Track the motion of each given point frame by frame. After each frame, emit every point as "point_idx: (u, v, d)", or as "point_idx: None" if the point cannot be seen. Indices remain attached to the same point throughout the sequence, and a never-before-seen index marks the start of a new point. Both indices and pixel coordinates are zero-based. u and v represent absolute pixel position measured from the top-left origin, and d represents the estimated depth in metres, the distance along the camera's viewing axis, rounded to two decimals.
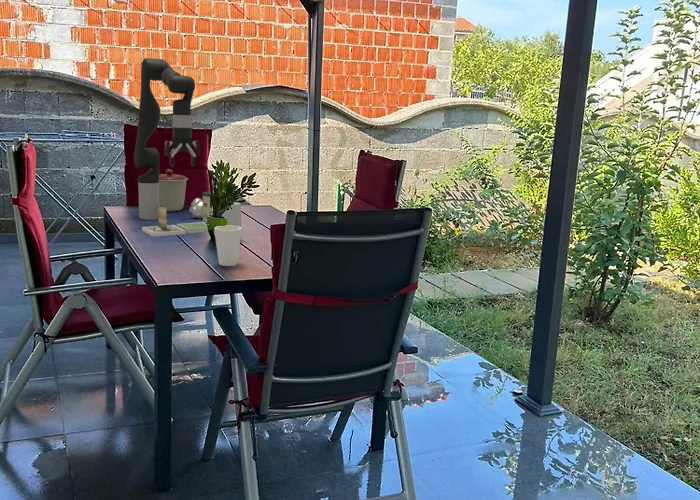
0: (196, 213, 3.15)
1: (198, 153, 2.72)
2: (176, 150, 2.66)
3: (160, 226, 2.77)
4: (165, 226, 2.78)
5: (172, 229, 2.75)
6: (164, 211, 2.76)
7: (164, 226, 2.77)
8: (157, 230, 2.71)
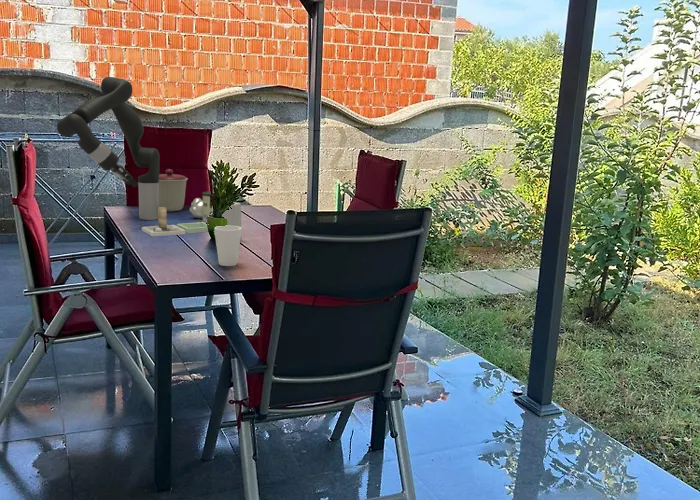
0: (196, 213, 3.15)
1: (126, 179, 2.58)
2: (116, 175, 2.65)
3: (160, 226, 2.77)
4: (165, 226, 2.78)
5: (172, 229, 2.75)
6: (164, 211, 2.76)
7: (164, 226, 2.77)
8: (157, 230, 2.71)
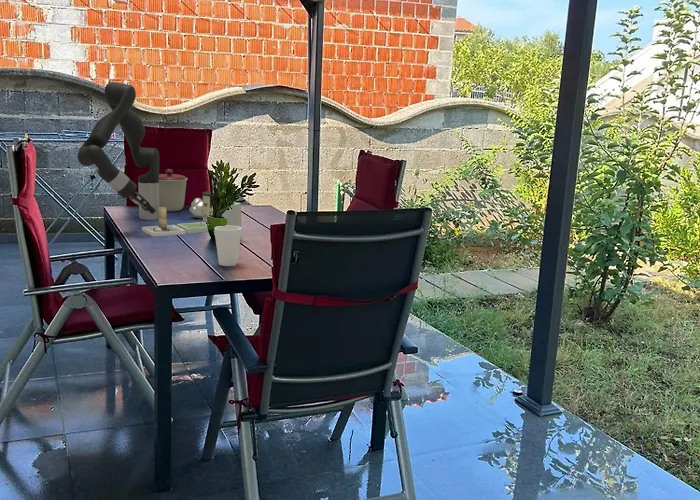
0: (196, 213, 3.15)
1: (144, 206, 2.65)
2: (134, 202, 2.72)
3: (160, 226, 2.77)
4: (165, 226, 2.78)
5: (172, 229, 2.75)
6: (164, 211, 2.76)
7: (164, 226, 2.77)
8: (157, 230, 2.71)
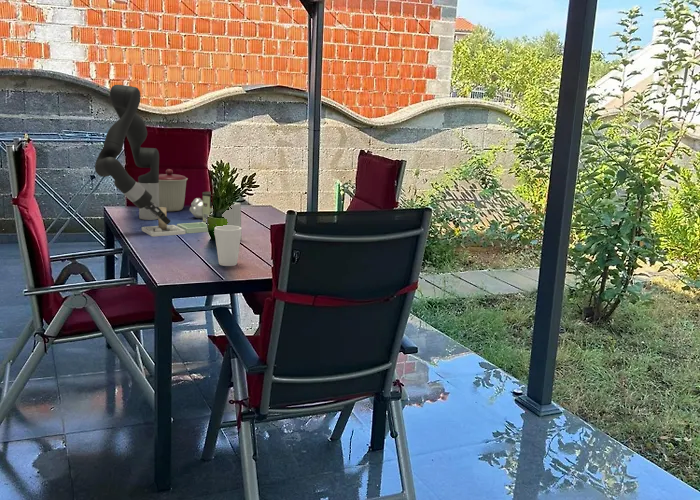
0: (196, 213, 3.15)
1: (159, 217, 2.73)
2: (151, 213, 2.76)
3: (160, 226, 2.77)
4: (165, 226, 2.78)
5: (172, 229, 2.75)
6: (164, 211, 2.76)
7: (164, 226, 2.77)
8: (157, 230, 2.71)
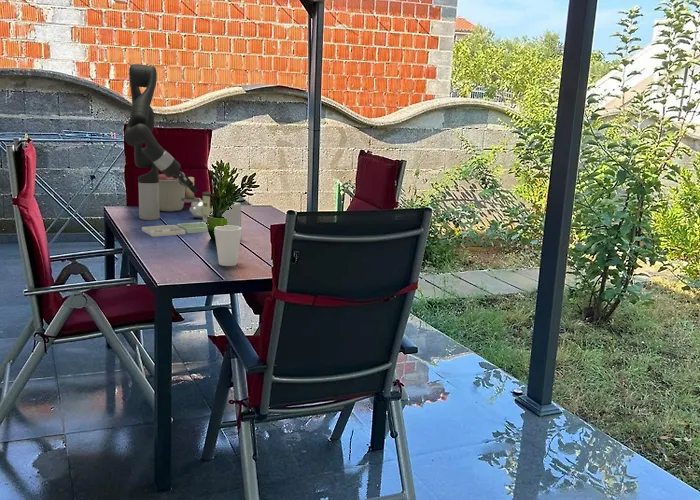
0: (196, 213, 3.15)
1: (187, 186, 2.76)
2: (179, 182, 2.80)
3: (188, 195, 2.80)
4: (193, 195, 2.81)
5: (172, 229, 2.75)
6: (192, 180, 2.79)
7: (192, 195, 2.80)
8: (157, 230, 2.71)
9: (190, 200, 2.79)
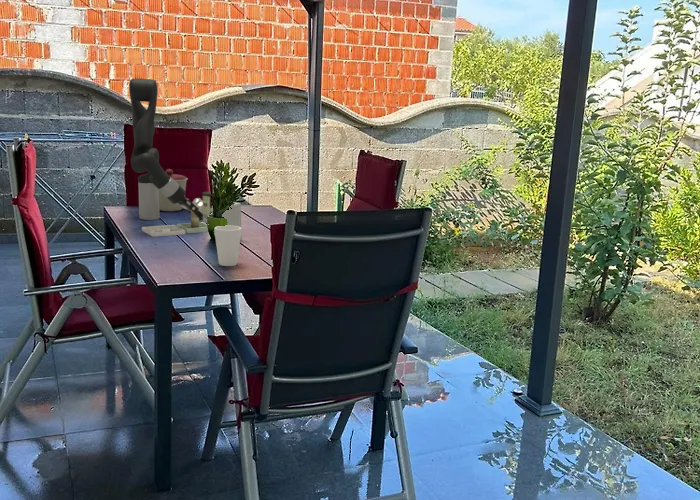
0: None
1: (193, 211, 2.77)
2: (182, 207, 2.84)
3: (193, 224, 2.84)
4: (197, 224, 2.85)
5: (172, 229, 2.75)
6: None
7: (196, 224, 2.84)
8: (157, 230, 2.71)
9: None
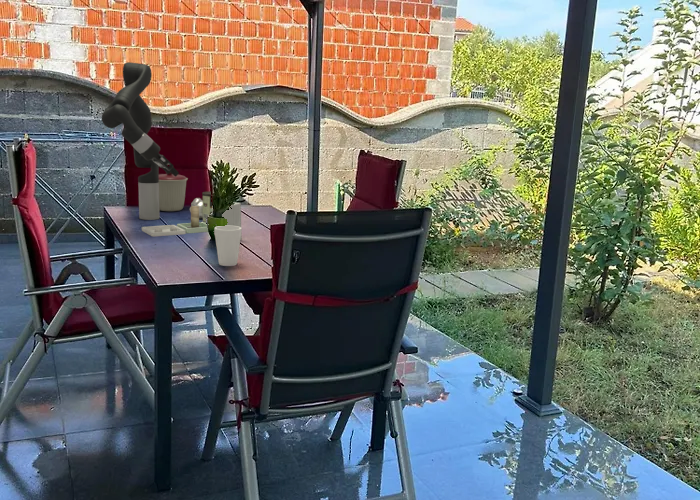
0: None
1: (167, 168, 2.67)
2: (157, 164, 2.74)
3: (193, 224, 2.84)
4: (197, 224, 2.85)
5: (172, 229, 2.75)
6: (197, 210, 2.83)
7: (196, 224, 2.84)
8: (157, 230, 2.71)
9: None
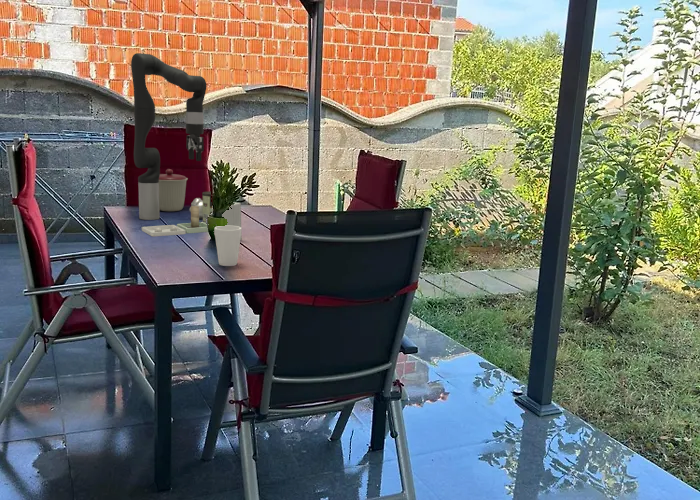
0: None
1: (197, 149, 2.84)
2: (188, 144, 2.91)
3: (193, 224, 2.84)
4: (197, 224, 2.85)
5: (172, 229, 2.75)
6: (197, 210, 2.83)
7: (196, 224, 2.84)
8: (157, 230, 2.71)
9: None
